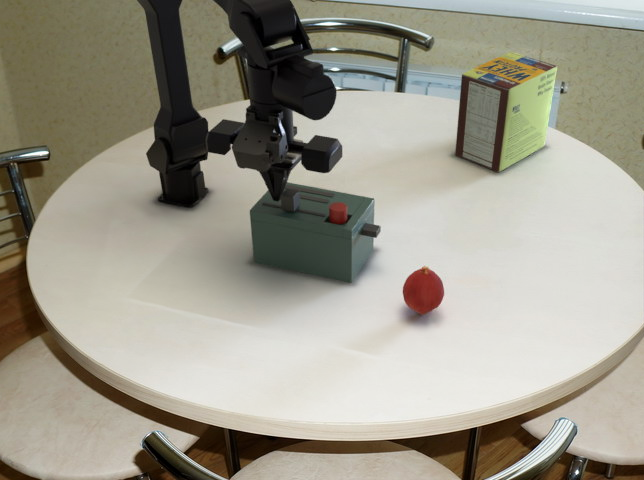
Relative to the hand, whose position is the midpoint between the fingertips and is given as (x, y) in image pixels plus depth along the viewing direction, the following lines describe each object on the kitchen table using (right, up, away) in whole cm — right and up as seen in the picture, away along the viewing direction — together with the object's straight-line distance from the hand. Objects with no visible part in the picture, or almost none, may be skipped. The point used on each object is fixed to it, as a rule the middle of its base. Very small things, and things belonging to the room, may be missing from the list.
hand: (277, 200), depth 125 cm
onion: (+21, -17, -3) cm, 27 cm away
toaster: (+6, -7, +7) cm, 12 cm away
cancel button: (+9, -3, -1) cm, 10 cm away
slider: (+2, -1, 0) cm, 2 cm away
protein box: (+38, +17, +36) cm, 55 cm away
